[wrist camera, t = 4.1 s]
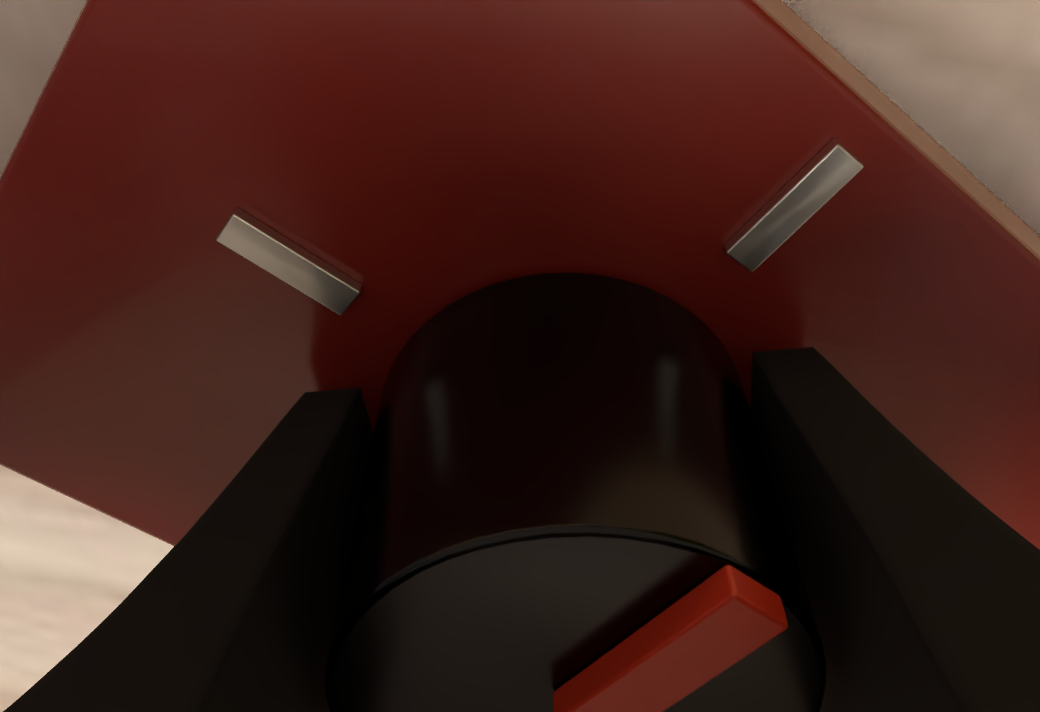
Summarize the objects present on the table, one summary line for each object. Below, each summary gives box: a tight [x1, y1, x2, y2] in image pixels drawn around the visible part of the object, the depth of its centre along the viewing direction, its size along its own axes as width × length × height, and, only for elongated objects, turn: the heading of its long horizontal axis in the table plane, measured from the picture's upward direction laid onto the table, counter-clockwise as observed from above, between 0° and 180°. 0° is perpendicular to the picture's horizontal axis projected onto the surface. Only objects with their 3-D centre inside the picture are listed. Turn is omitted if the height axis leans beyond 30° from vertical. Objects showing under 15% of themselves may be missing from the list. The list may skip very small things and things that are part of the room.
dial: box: [325, 272, 826, 712], centre depth 9 cm, size 4×4×4 cm
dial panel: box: [0, 0, 1040, 550], centre depth 12 cm, size 12×9×3 cm
